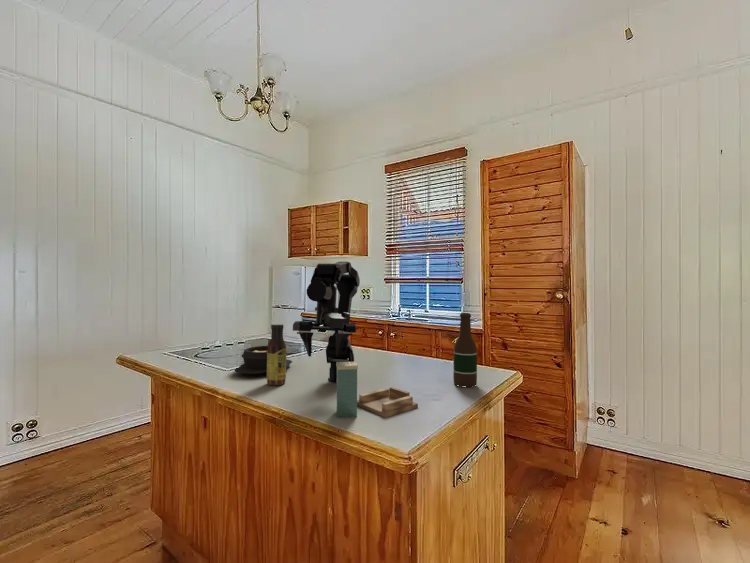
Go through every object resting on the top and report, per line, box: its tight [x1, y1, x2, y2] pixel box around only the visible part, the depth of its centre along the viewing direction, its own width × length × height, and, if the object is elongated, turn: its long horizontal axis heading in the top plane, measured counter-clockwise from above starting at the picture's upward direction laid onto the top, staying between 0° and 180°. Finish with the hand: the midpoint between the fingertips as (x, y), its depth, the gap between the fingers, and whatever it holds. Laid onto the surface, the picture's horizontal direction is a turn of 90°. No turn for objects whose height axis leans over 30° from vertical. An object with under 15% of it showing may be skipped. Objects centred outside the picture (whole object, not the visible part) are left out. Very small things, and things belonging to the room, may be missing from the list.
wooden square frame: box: [357, 386, 419, 419], centre depth 105 cm, size 12×13×4 cm
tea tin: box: [336, 361, 359, 419], centre depth 99 cm, size 5×5×13 cm
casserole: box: [233, 345, 293, 375], centre depth 146 cm, size 25×19×8 cm
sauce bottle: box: [266, 323, 287, 386], centre depth 127 cm, size 7×6×20 cm
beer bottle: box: [452, 312, 478, 388], centre depth 127 cm, size 8×8×24 cm
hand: (324, 356), depth 114 cm, fingers open, 9 cm apart
